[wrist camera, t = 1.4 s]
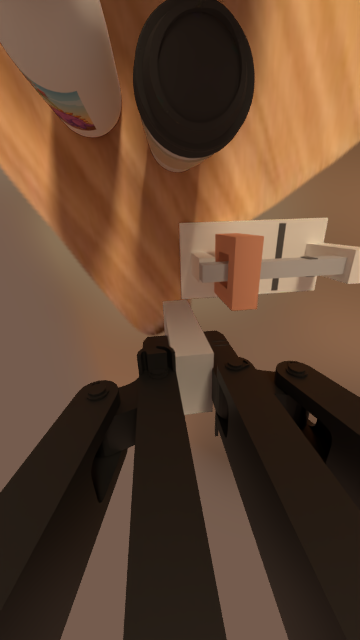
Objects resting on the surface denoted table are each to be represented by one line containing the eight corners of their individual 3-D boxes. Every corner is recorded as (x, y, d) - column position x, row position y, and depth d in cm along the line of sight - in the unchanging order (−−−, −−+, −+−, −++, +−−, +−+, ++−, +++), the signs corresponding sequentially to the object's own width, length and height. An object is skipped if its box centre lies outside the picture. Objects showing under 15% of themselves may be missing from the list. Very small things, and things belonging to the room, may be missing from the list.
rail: (178, 223, 33) (190, 222, 24) (324, 217, 35) (386, 215, 26) (181, 297, 37) (191, 322, 28) (311, 289, 39) (360, 309, 30)
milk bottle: (90, 33, 25) (-78, -514, 6) (136, 112, 28) (110, -106, 9) (35, 82, 26) (-250, -272, 7) (85, 153, 29) (-30, 29, 10)
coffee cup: (189, 196, 32) (220, 175, 18) (127, 156, 29) (108, 96, 15) (225, 125, 29) (292, 37, 15) (160, 74, 27) (172, -85, 13)
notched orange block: (215, 233, 31) (235, 237, 24) (237, 233, 31) (264, 236, 24) (214, 292, 34) (231, 310, 27) (233, 290, 34) (256, 309, 27)
